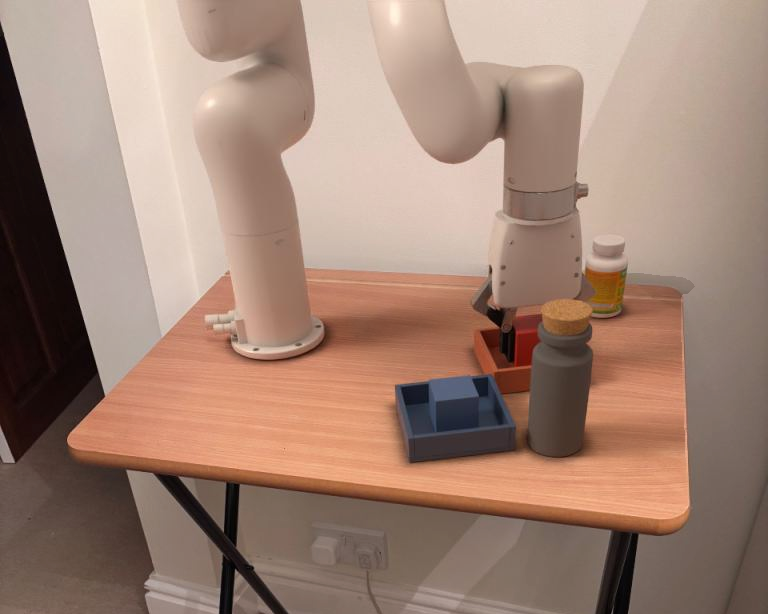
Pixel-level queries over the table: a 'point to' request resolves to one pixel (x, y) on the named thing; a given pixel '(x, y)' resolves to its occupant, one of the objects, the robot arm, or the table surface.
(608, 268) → the supplement bottle
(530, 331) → the red block
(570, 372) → the bottle
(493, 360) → the orange bin
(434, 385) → the blue block
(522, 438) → the table surface
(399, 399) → the blue bin
